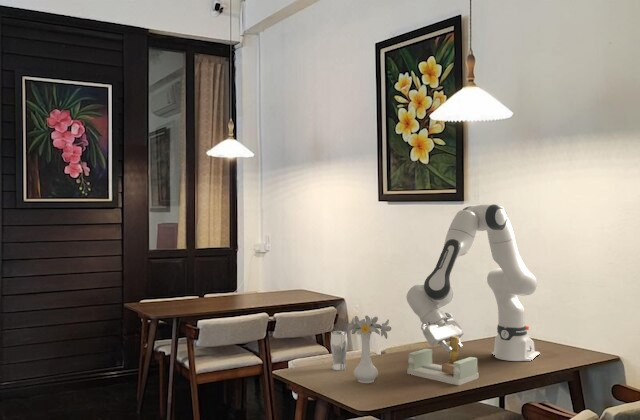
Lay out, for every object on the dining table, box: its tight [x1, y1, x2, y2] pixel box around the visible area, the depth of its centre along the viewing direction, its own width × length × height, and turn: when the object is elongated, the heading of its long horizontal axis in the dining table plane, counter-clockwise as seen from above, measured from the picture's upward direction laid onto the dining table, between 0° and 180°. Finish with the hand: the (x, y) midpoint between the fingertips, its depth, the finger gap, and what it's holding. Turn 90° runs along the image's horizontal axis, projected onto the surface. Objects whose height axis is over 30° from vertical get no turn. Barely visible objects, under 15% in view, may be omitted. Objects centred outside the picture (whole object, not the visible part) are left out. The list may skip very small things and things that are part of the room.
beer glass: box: [330, 330, 348, 372], centre depth 267 cm, size 7×7×15 cm
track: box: [406, 348, 480, 386], centre depth 256 cm, size 14×24×8 cm, turn 45°
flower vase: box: [345, 315, 392, 384], centre depth 249 cm, size 13×18×25 cm
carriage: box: [441, 336, 460, 374], centre depth 252 cm, size 10×5×13 cm, turn 135°
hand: (455, 349), depth 251 cm, fingers open, 6 cm apart
